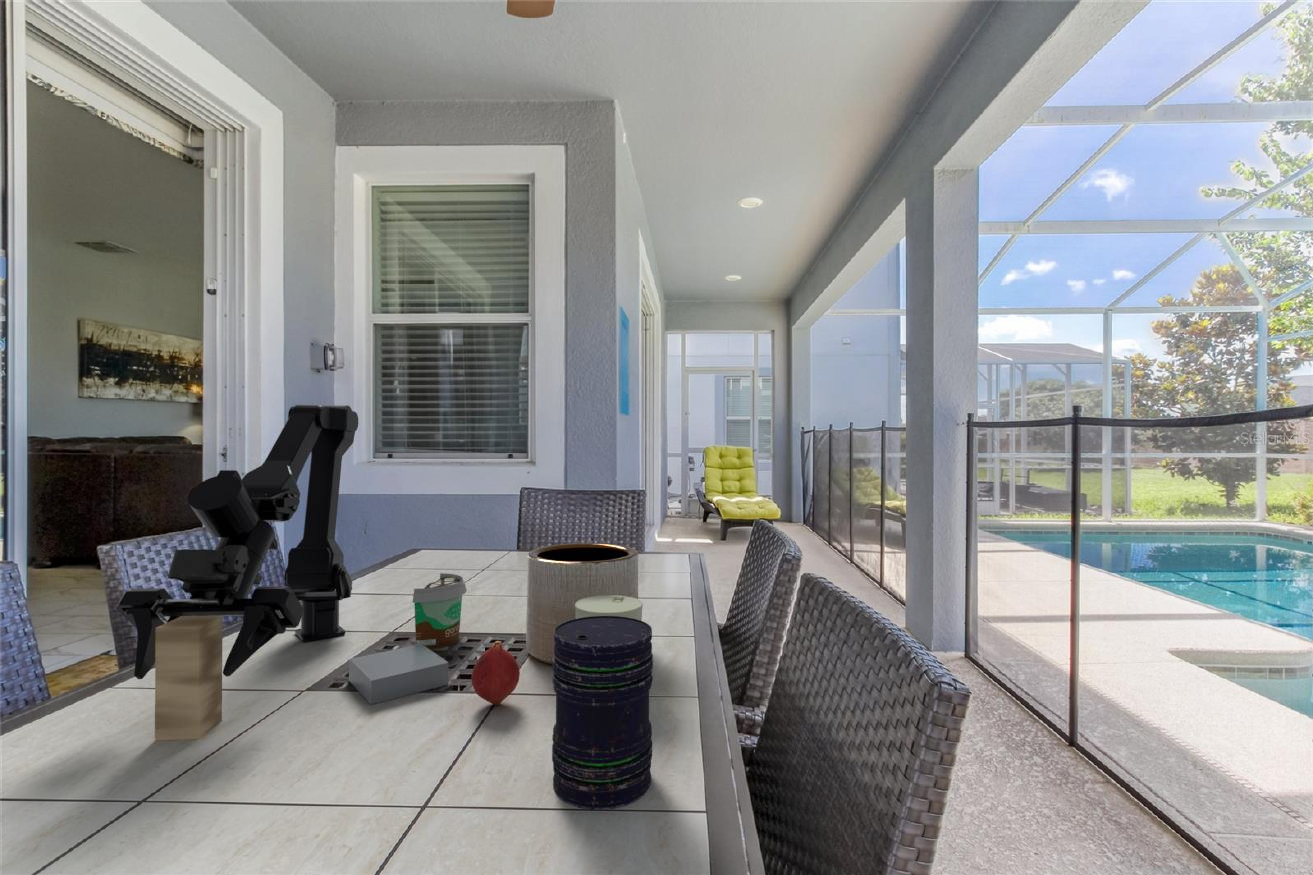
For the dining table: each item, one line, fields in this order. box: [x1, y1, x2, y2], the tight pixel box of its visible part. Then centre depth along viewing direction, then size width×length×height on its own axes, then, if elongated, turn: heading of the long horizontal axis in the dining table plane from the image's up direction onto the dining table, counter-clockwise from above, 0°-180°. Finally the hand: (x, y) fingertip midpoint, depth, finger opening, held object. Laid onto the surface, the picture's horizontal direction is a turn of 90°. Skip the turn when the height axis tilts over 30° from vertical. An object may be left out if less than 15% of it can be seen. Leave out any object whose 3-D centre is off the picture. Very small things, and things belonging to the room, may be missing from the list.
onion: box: [470, 640, 521, 706], centre depth 79 cm, size 6×6×8 cm
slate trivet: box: [348, 644, 450, 705], centre depth 86 cm, size 10×10×3 cm
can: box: [575, 595, 644, 621], centre depth 85 cm, size 9×9×12 cm
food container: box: [412, 572, 467, 651], centre depth 104 cm, size 12×6×10 cm, turn 179°
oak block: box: [154, 615, 224, 742], centre depth 72 cm, size 4×4×12 cm
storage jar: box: [551, 616, 654, 811], centre depth 62 cm, size 10×10×15 cm
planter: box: [525, 542, 639, 666], centre depth 100 cm, size 18×18×16 cm
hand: (182, 676), depth 71 cm, fingers open, 9 cm apart
